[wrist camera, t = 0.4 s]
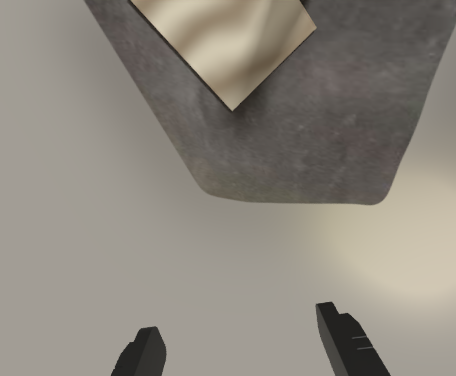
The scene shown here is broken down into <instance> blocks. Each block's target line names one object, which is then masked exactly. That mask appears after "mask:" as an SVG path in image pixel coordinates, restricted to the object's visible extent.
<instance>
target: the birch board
mask: <svg viewBox="0 0 456 376" xmlns="http://www.w3.org/2000/svg"><path fill="white" fill-rule="evenodd" d="M131 1H132V2H133V3H134V5H135V6H136V7H137V8H138V9H139V10H140V11H141V12H142V13H143V14H144V15H145V17H146V18H147V19H148V20H149V21H150V22H151V23H152V24H153V25H154V26H155V27H156V29H157V30H158V31H159V32H160V33H161V34H162V35H163V36H164V37H165V38H166V39H167V41H168V42H169V43H170V44H171V45H172V46H173V47H174V48H175V49H176V50H177V51H178V53H179V54H180V55H181V56H182V57H183V58H184V59H185V60H186V61H187V62H188V63H189V65H190V66H191V67H192V68H193V69H194V70H195V71H196V72H197V73H198V74H199V75H200V77H201V78H202V79H203V80H204V81H205V82H206V83H207V84H208V85H209V86H210V87H211V89H212V90H213V91H214V92H215V93H216V94H217V95H218V96H219V97H220V98H221V99H222V101H223V102H224V103H225V104H226V105H227V106H228V107H229V108H230V109H231V110H232V111H233V110H234V109H235V108H236V107H237V106H238V105H239V104H240V103H241V102H242V101H243V100H244V99H245V98H246V97H247V96H248V95H249V94H250V93H251V92H252V91H253V90H254V89H255V88H256V87H257V86H258V85H259V84H260V83H261V82H262V81H263V80H264V79H265V78H266V77H267V76H268V75H269V74H270V73H271V72H272V71H273V70H274V69H275V68H276V67H277V66H278V65H279V64H280V63H281V62H282V61H283V60H285V59H286V58H287V57H288V56H289V55H290V54H291V53H292V52H293V51H294V50H295V49H296V48H297V47H298V46H299V45H300V44H301V43H302V42H303V41H304V40H305V39H306V38H307V37H308V36H309V35H310V34H311V33H312V32H313V31H314V30H315V29H316V26H315V24H314V23H313V21H312V20H311V18H310V16H309V15H308V13H307V12H306V10H305V8H304V7H303V5H302V4H301V2H300V0H131Z"/></svg>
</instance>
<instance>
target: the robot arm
mask: <svg viewBox="0 0 456 376" xmlns="http://www.w3.org/2000/svg"><path fill="white" fill-rule="evenodd" d="M316 314H317V322H318V328H319V333H320V337H321V340H322V342H323V345H324V348H325V350H326V353H327V355H328V358H329V360H330V363H331V366H332V368H333V371H334V373H335V376H391V375H390V374H389V372H388V370H387V369H386V367H385V365H384V364H383V362H382V360H381V359H380V357H379V355H378V354H377V352H376V350H375V349H374V348H373V346H372V344H371V342H370V340H369V339H368V338H367V336H366V334H365V332H364V330H363V329H362V327H361V325H360V324H359V323H358V322H357V321H356V320H355V319H354V318H353V317H352V316H351V315H350V314H348V313H345V314H339V313H338V311H337V310H336V307H335V306H334V304H333V303H332V302H325V303H319V304H316ZM165 361H166V347H165V344H164V342H163V340H162V337H161V335H160V333H159V330H158V328H157V327H147V328H141V329H140V330H139V331H138V333H137V336H136V338H135V340H134V342H130V343H129V344H128V345H127V347H126V348H125V349H124V351H123V352H122V353H121V355H120V357H119V359H118V361H117V363H116V366H115V369H114V370H113V372H112V374H111V376H161V375H162V372H163V368H164V364H165Z"/></svg>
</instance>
